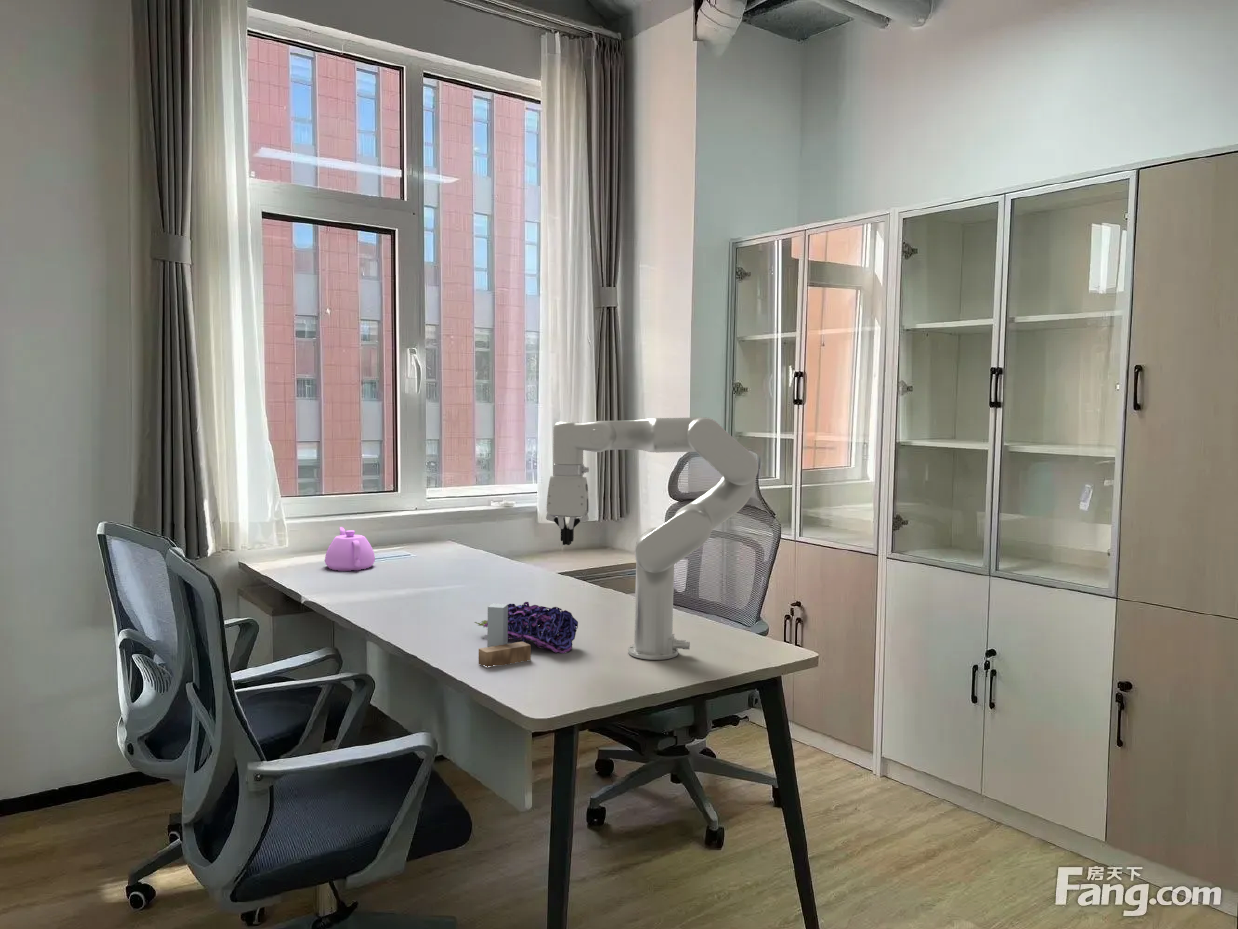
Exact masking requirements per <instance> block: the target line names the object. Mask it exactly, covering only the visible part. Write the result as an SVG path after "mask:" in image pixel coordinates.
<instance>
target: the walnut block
mask: <svg viewBox="0 0 1238 929" xmlns="http://www.w3.org/2000/svg"><path fill="white" fill-rule="evenodd" d="M531 647H532V646H531V644H529V643H528V642H526V643H525V642H521V641H517V642H512V643H508V644H504V645H498V646H492V647H487V646H486V647H480V648H478V665H479V664H481V665H485V666H487V667H488V666H493V665H502V666H506V665H505V664H507V665H511V664H510V663H513V664H516V663H515V662H519V663H522V662H521V661H524V662H528V661H527V660H530V661H531V657H532V649H531ZM481 665H480V666H481Z"/></svg>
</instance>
